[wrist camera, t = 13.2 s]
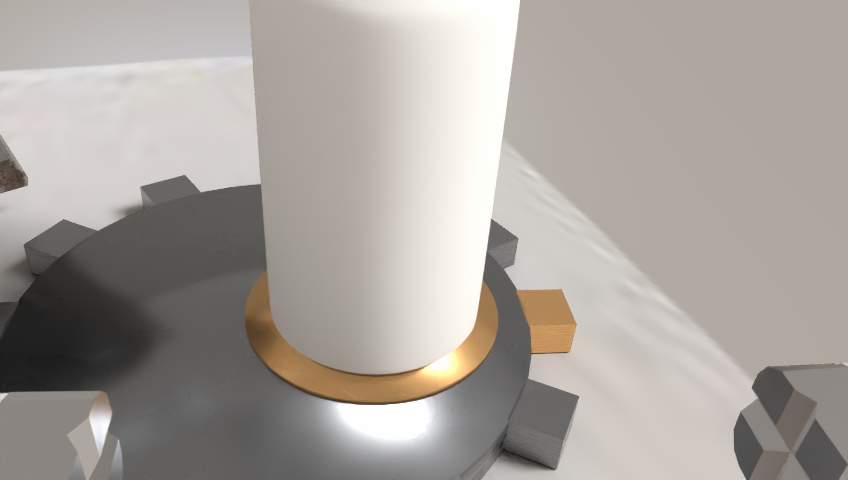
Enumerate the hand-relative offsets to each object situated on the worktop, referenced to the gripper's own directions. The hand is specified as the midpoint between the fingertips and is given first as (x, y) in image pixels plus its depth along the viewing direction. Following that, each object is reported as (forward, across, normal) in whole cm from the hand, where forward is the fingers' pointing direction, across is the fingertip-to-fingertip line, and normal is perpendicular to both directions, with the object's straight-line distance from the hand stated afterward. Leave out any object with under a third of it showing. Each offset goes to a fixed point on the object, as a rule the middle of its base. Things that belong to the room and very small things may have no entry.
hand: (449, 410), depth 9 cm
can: (+12, 0, +9) cm, 15 cm away
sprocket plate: (+12, +3, +10) cm, 16 cm away
